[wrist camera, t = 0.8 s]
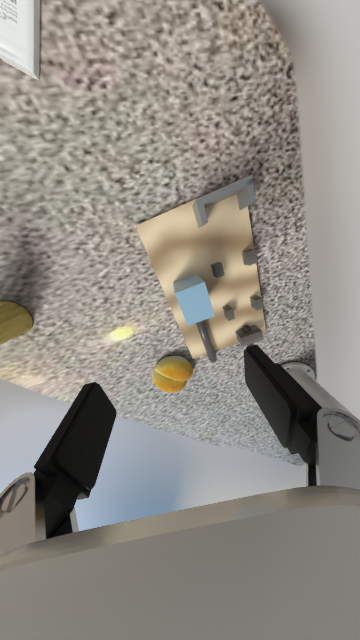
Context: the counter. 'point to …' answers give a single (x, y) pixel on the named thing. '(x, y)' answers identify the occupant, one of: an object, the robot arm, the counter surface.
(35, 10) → the external hard drive
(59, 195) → the counter surface
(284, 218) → the counter surface
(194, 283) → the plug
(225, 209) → the board
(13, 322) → the vase
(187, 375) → the bread roll
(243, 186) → the end holder
